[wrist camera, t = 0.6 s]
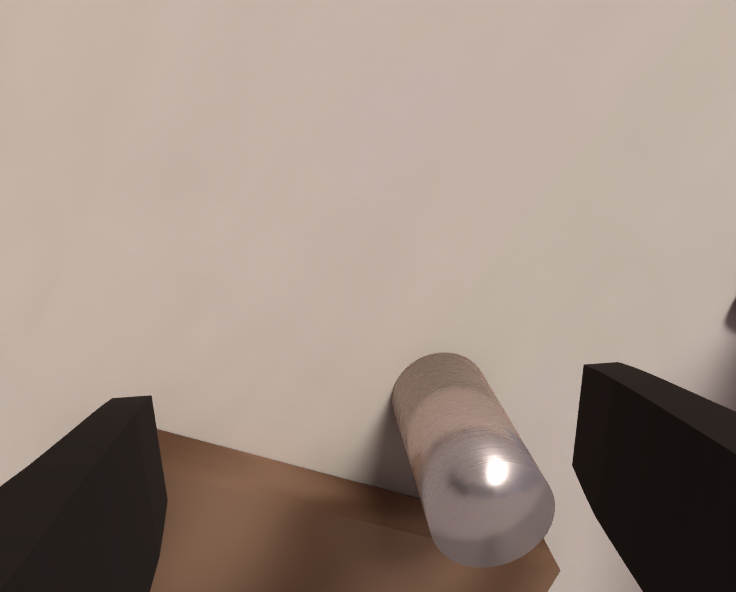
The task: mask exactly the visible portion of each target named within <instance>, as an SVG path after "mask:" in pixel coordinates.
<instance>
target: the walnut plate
mask: <svg viewBox="0 0 736 592" xmlns="http://www.w3.org/2000/svg"><path fill="white" fill-rule="evenodd" d="M157 434H158V441H159V447H160V454H161V460H162V467H163V473H164V479H165V486H166V492H167V499H168V503H167V510H166V517H165V525H164V532H163V538H162V545H161V551H160V557H159V561H158V565H157V568H156V572H155V576H154V579H153V583H152V586H151V590H150V592H548V590H549V588H550V587H551V585H552V584H553V582H554V580H555V579H556V577H557V575H558V574H559V572H560V569H559V567H558V565H557V563H556V561H555V559H554V558H553V556H552V554H551V552H550V550H549V548H548V546H547V544H546V542H545V540H544V538H543V539H542V540H541V541H540V542H539V544H538V545H536V546H535V547H534V548H533V549H532V550H531V551H529V552H528V553H527V554H525V555H523V556H522V557H520V558H518V559H516V560H514V561H512V562H509V563H506V564H503V565H499V566H494V567H484V568H479V567H470V566H465V565H462V564H459V563H456V562H454V561H452V560H451V559H449V558H447V557H446V556H445V555H444V554H443V553H441V551H440V550H439V549H438V548H437V546H436V545H435V543H434V541H433V538H432V536H431V533H430V529H429V526H428V523H427V519H426V516H425V513H424V509H423V506H422V503H421V499H418V498H414V497H411V496H407V495H403V494H399V493H396V492H392V491H388V490H384V489H381V488H377V487H373V486H369V485H365V484H362V483H358V482H354V481H350V480H347V479H343V478H339V477H335V476H332V475H328V474H324V473H320V472H316V471H313V470H309V469H305V468H301V467H298V466H294V465H290V464H286V463H283V462H279V461H275V460H271V459H267V458H264V457H260V456H256V455H252V454H249V453H245V452H241V451H237V450H234V449H230V448H226V447H222V446H218V445H215V444H211V443H207V442H203V441H200V440H196V439H192V438H188V437H185V436H181V435H177V434H173V433H169V432H166V431H162V430H158V429H157Z"/></svg>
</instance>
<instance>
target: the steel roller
mask: <svg viewBox="0 0 736 592" xmlns="http://www.w3.org/2000/svg"><path fill="white" fill-rule="evenodd" d="M392 406H393V410H394V414H395V417H396V420H397V423H398V427H399V430H400V433H401V437H402V440H403V443H404V447H405V450H406V453H407V456H408V460H409V463H410V466H411V470H412V473H413V476H414V480H415V483H416V486H417V490H418V493H419V496H420V499H421V503H422V506H423V509H424V513H425V516H426V519H427V523H428V526H429V529H430V533H431V536H432V538H433V541H434V543H435V545H436V546H437V548H438V549H439V550H440V551H441V553H443V554H444V555H445V556H446V557H447V558H449V559H451V560H452V561H454V562H456V563H459V564H462V565H465V566H470V567H479V568H484V567H494V566H499V565H503V564H506V563H509V562H512V561H514V560H516V559H518V558H520V557H522V556H523V555H525V554H527V553H528V552H529V551H531V550H532V549H533V548H534V547H535V546H536V545H538V544H539V542H540V541H541V540H542V539H543V538H544V536H545V535H546V533H547V532H548V530H549V528H550V526H551V524H552V521H553V517H554V512H555V501H554V496H553V493H552V490H551V488H550V486H549V485H548V483H547V481H546V479H545V478H544V476H543V474H542V473H541V471H540V469H539V468H538V466H537V464H536V463H535V461H534V459H533V458H532V456H531V454H530V453H529V451H528V449H527V448H526V446H525V444H524V443H523V441H522V439H521V438H520V436H519V434H518V432H517V431H516V429H515V427H514V426H513V424H512V422H511V421H510V419H509V417H508V416H507V414H506V412H505V411H504V409H503V407H502V406H501V404H500V402H499V401H498V399H497V397H496V396H495V394H494V392H493V390H492V389H491V387H490V385H489V384H488V382H487V380H486V379H485V377H484V375H483V374H482V372H481V371H480V369H479V368H478V367H477V366H476V365H475V364H474V363H473V362H472V361H471V360H469V359H467V358H466V357H463V356H461V355H458V354H453V353H435V354H431V355H427V356H425V357H422V358H420V359H418V360H416V361H415V362H413V363H412V364H410V365H409V366H408V367H407V368H406V369H405V370H404V371H403V372H402V373H401V375H400V376H399V378H398V379H397V381H396V383H395V386H394V389H393V393H392Z"/></svg>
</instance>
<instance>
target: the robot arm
mask: <svg viewBox="0 0 736 592" xmlns="http://www.w3.org/2000/svg"><path fill="white" fill-rule="evenodd" d="M572 466H573V468H574V471H575V473H576V475H577V478H578V480H579V482H580V484H581V487H582V489H583V491H584V494H585V496H586V498H587V500H588V502H589V504H590V506H591V508H592V511H593V513H594V515H595V517H596V518H597V520H598V521H599V523H600V525H601V526H602V528H603V530H604V531H605V533H606V534H607V536H608V538H609V539H610V541H611V542H612V544H613V546H614V547H615V549H616V550H617V552H618V554H619V555H620V557H621V558H622V560H623V561H624V563H625V564H626V566H627V568H628V569H629V571H630V572H631V574H632V575H633V577H634V578H635V580H636V582H637V583H638V585H639V586H640V588H641V589H642V591H643V592H736V412H735V411H733V410H730V409H728V408H726V407H724V406H721V405H719V404H717V403H715V402H712V401H710V400H708V399H706V398H703V397H701V396H699V395H697V394H694V393H692V392H690V391H688V390H686V389H683V388H681V387H679V386H677V385H674V384H672V383H670V382H668V381H666V380H663V379H661V378H659V377H656V376H654V375H652V374H649V373H647V372H644V371H642V370H639V369H637V368H634V367H631V366H629V365H625V364H622V363H619V362H615V363H601V364H586V365H584V367H583V376H582V385H581V393H580V402H579V411H578V419H577V428H576V437H575V445H574V454H573V463H572ZM167 503H168V499H167V492H166V486H165V479H164V473H163V467H162V460H161V454H160V447H159V441H158V434H157V428H156V422H155V415H154V409H153V402H152V396H138V397H124V398H112V399H111V400H109V401H108V402H106V403H105V404H104V405H102V406H101V407H100V408H98V409H97V410H96V411H95V412H93V413H92V414H91V415H90V416H89V417H87V418H86V419H85V420H84V421H83V422H81V423H80V424H79V425H78V426H77V427H75V428H74V429H73V430H72V431H71V432H69V433H68V434H67V435H66V436H64V437H63V438H62V439H61V440H60V441H58V442H57V443H56V444H55V445H53V446H52V447H51V448H50V449H48V450H47V451H46V452H45V453H44V454H42V455H41V456H40V457H39V458H37V459H36V460H35V461H34V462H32V463H31V464H30V465H29V466H27V467H26V468H25V469H23V470H22V471H21V472H19V473H18V474H17V475H15V476H14V477H13V478H11V479H10V480H8V481H7V482H6V483H4V484H3V485H2V486H0V592H150V590H151V586H152V583H153V579H154V576H155V572H156V568H157V565H158V561H159V557H160V551H161V545H162V538H163V532H164V525H165V517H166V510H167Z"/></svg>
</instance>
